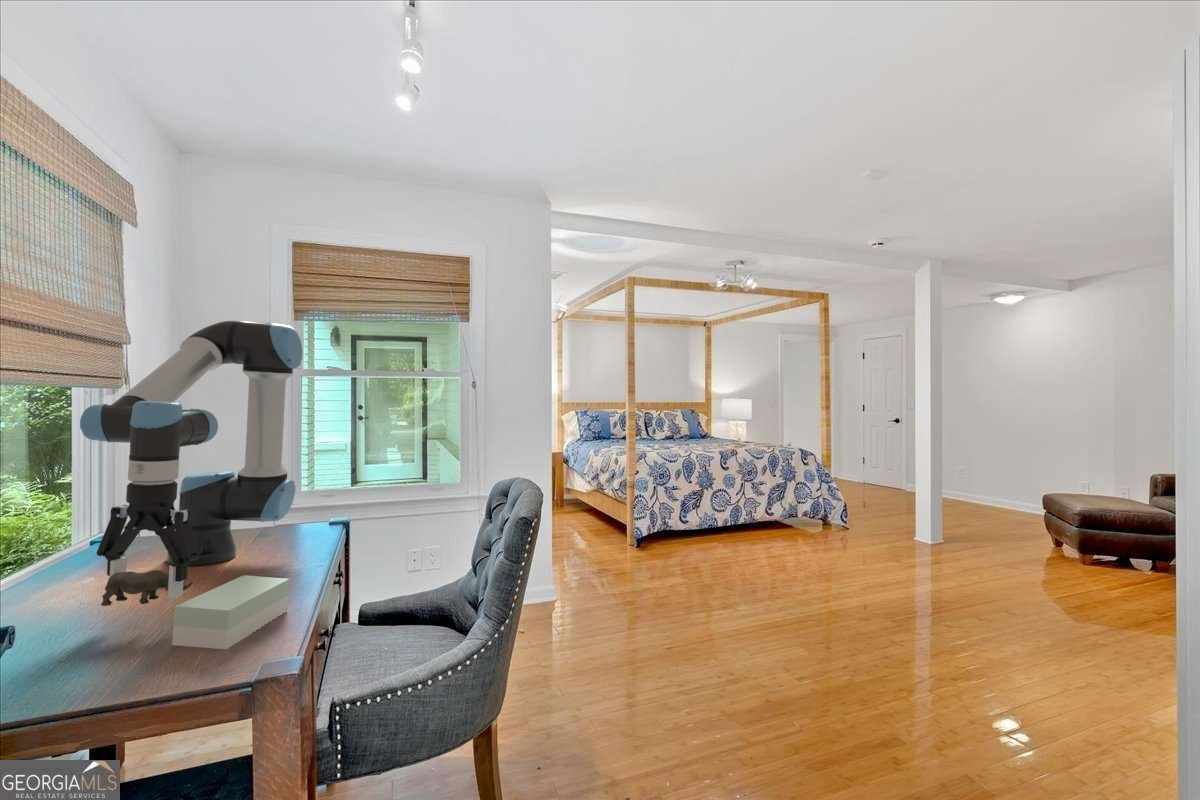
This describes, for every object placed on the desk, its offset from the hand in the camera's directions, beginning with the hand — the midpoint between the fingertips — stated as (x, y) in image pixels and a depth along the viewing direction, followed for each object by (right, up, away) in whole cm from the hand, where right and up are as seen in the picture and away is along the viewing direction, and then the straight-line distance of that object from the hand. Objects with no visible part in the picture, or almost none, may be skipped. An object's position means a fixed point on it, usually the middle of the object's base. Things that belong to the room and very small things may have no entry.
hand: (145, 595), depth 104 cm
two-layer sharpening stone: (+16, -7, +2) cm, 17 cm away
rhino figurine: (0, -1, 0) cm, 1 cm away
